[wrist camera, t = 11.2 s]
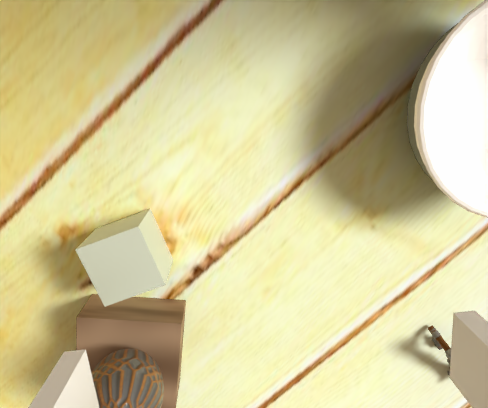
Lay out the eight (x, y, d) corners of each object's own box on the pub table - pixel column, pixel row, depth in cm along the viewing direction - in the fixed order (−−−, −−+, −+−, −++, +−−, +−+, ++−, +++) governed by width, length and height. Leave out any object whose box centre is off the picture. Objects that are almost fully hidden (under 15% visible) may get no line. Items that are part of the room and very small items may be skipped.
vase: (123, 408, 40) (112, 490, 32) (76, 365, 38) (50, 441, 30) (178, 368, 40) (181, 439, 32) (133, 323, 38) (124, 387, 30)
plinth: (93, 292, 42) (76, 317, 38) (186, 298, 43) (181, 323, 38) (92, 372, 45) (76, 404, 40) (180, 376, 46) (175, 409, 41)
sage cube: (96, 228, 40) (75, 249, 35) (150, 208, 40) (138, 226, 34) (120, 278, 42) (104, 306, 36) (173, 259, 42) (165, 284, 36)
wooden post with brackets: (435, 319, 44) (463, 353, 41) (446, 347, 49) (472, 381, 46) (421, 327, 45) (448, 362, 41) (433, 355, 49) (458, 388, 46)
